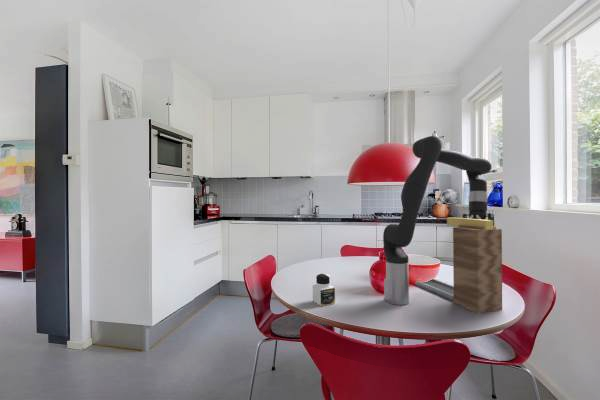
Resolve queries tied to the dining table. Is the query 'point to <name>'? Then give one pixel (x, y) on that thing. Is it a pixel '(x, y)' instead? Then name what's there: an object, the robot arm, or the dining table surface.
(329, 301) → the medicine bottle
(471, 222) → the bar
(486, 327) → the dining table surface
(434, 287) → the tray
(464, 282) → the stand
